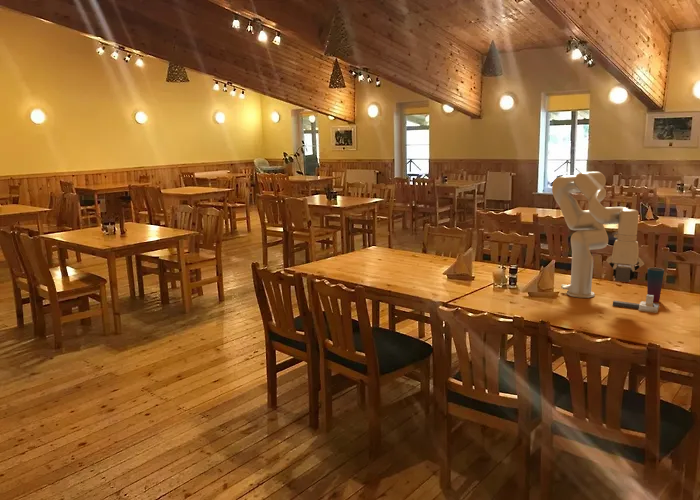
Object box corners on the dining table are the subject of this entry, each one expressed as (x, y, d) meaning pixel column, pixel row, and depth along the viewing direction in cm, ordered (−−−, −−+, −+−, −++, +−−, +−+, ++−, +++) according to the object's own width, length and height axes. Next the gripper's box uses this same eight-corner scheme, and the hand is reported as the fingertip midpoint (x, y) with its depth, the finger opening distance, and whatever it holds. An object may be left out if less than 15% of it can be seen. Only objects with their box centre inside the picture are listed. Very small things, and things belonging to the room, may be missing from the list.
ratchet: (611, 306, 264) (612, 292, 263) (614, 303, 270) (615, 289, 269) (657, 313, 254) (658, 298, 253) (658, 308, 260) (660, 294, 259)
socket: (615, 280, 256) (616, 267, 255) (617, 277, 261) (618, 264, 260) (629, 282, 253) (630, 268, 252) (631, 279, 258) (632, 266, 257)
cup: (663, 302, 269) (666, 270, 267) (647, 302, 271) (650, 270, 268) (659, 298, 276) (661, 267, 273) (643, 298, 277) (645, 267, 274)
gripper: (603, 237, 255) (600, 278, 259) (647, 241, 246) (643, 283, 249) (607, 234, 261) (603, 274, 265) (650, 238, 252) (646, 279, 256)
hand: (623, 278), depth 257 cm, fingers closed on socket, 5 cm apart
